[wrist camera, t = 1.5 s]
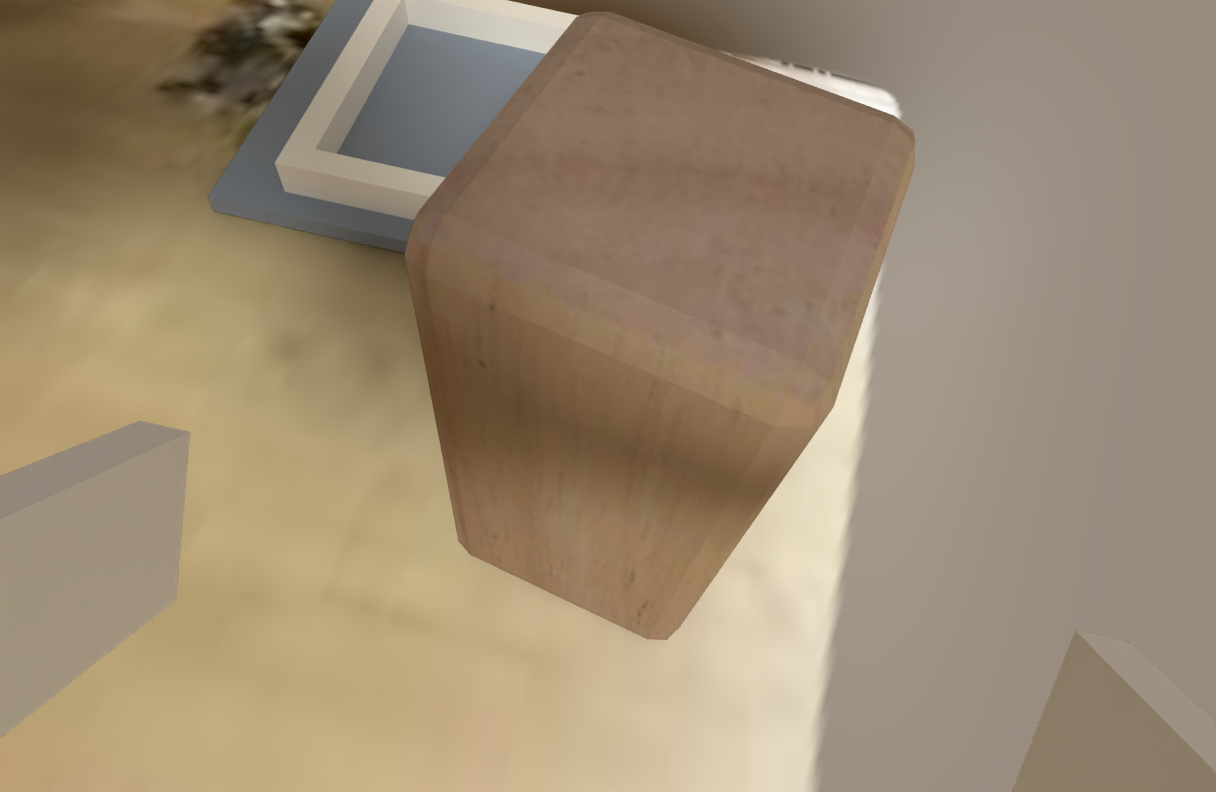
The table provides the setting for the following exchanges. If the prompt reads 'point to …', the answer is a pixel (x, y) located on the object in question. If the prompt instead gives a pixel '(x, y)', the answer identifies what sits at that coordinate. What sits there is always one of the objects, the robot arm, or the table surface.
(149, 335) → the table surface
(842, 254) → the block
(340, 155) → the grey square frame tray
